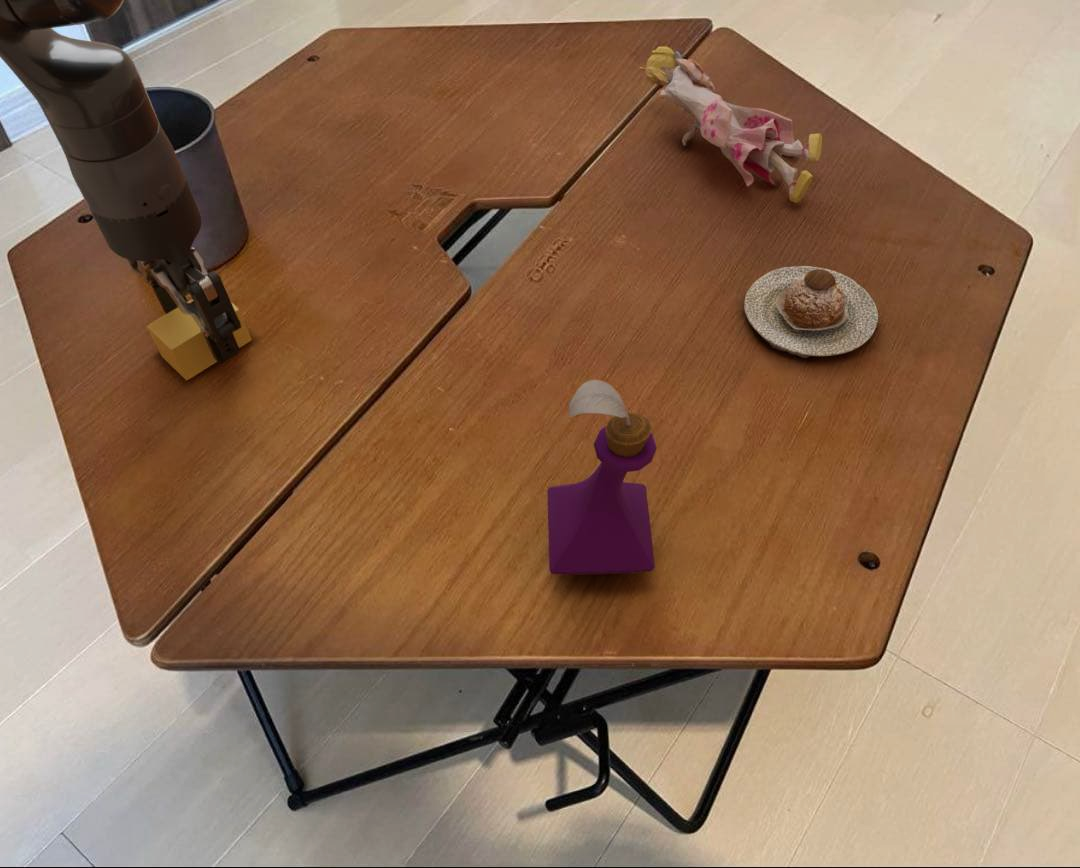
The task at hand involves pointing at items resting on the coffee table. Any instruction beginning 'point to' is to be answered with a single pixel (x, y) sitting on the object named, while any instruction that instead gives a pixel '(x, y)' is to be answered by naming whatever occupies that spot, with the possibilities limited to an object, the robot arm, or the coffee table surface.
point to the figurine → (733, 123)
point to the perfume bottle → (604, 495)
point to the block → (188, 342)
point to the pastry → (810, 311)
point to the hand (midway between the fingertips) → (202, 333)
